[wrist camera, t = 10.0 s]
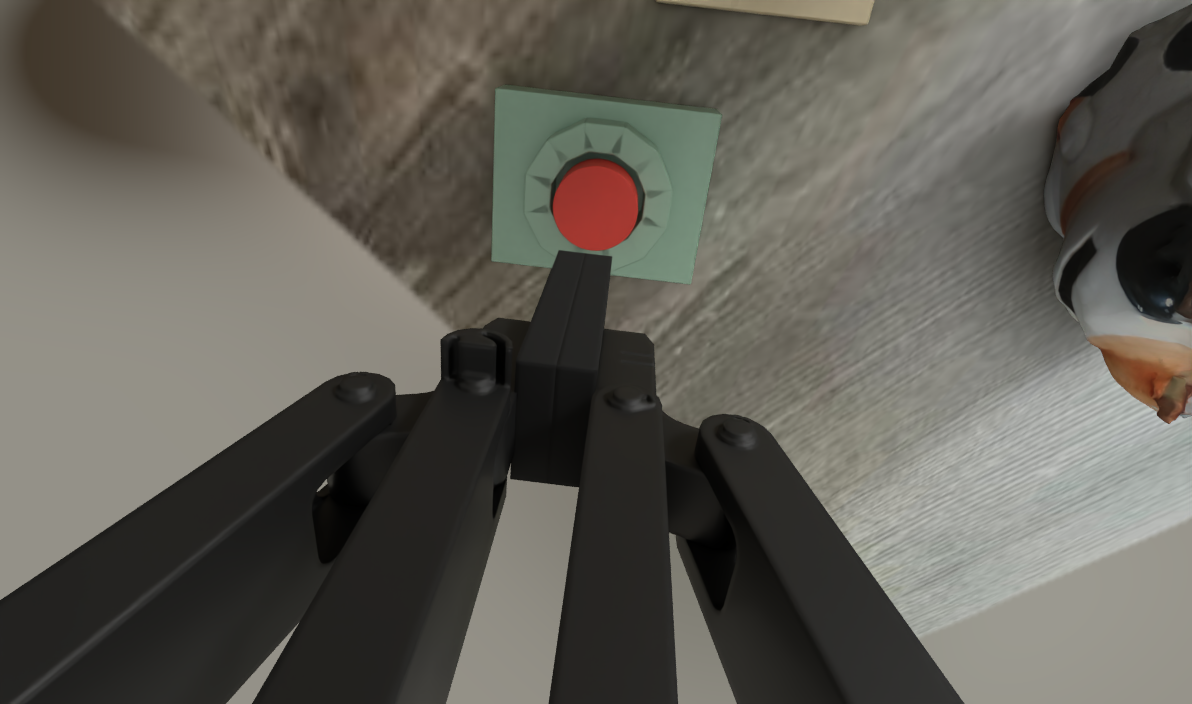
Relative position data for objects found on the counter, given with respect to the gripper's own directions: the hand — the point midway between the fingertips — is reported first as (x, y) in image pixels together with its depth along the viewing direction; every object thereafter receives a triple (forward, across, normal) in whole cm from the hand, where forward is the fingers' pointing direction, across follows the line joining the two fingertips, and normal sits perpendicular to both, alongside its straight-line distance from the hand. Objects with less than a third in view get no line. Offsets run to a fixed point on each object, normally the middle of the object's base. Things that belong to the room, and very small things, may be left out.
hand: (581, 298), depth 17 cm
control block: (+15, 0, 0) cm, 15 cm away
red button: (+11, 0, 0) cm, 11 cm away
